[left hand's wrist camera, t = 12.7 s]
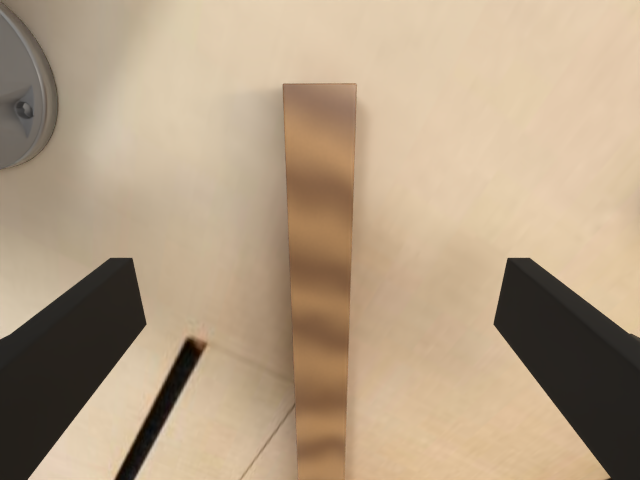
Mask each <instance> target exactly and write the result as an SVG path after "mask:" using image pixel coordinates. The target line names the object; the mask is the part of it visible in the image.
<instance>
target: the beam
mask: <svg viewBox="0 0 640 480" xmlns="http://www.w3.org/2000/svg"><path fill="white" fill-rule="evenodd" d="M356 91H357V84H356V83H345V84H283V105H284V130H285V156H286V181H287V207H288V233H289V258H290V284H291V309H292V335H293V361H294V386H295V412H296V437H297V463H298V480H344V470H345V438H346V407H347V375H348V344H349V312H350V280H351V249H352V217H353V186H354V154H355V123H356Z"/></svg>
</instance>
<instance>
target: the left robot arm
mask: <svg viewBox="0 0 640 480" xmlns="http://www.w3.org/2000/svg"><path fill="white" fill-rule="evenodd" d="M57 108H58V103H57V92H56V86H55V82H54V78H53V74H52V71H51V68H50V66H49V63H48V61H47V59H46V57H45V55H44V53H43V51H42V49H41V47H40V46H39V44H38V42H37V41H36V39H35V38H34V36H33V35H32V34H31V32H30V31H29V30H28V28H27V27H26V26H25V25H24V23H23V22H22V21H21V20H20V19H19V18H18V17H17V16H16V15H15V14H14V13H13V12H12V11H11V10H10V9H9V8H7V7H6V6H5V5H4V4H2V3H1V2H0V169H4V168H8V167H13V166H16V165H19V164H22V163H24V162H26V161H28V160H30V159H32V158H33V157H34V156H36V155H37V154H38V153H39V152H40V151H41V150H42V149H43V148H44V147H45V145H46V144H47V143H48V141H49V139H50V137H51V135H52V133H53V130H54V127H55V123H56V118H57ZM145 326H146V319H145V315H144V310H143V305H142V301H141V296H140V291H139V287H138V282H137V277H136V273H135V268H134V263H133V259H132V258H110V259H108V260H107V261H106V262H104V263H103V264H102V265H101V266H99V267H98V268H97V269H95V270H94V271H93V272H91V273H90V274H89V275H87V276H86V277H85V278H83V279H82V280H81V281H80V282H78V283H77V284H76V285H74V286H73V287H72V288H70V289H69V290H68V291H66V292H65V293H64V294H63V295H61V296H60V297H59V298H57V299H56V300H55V301H53V302H52V303H51V304H49V305H48V306H47V307H46V308H44V309H43V310H42V311H40V312H39V313H38V314H36V315H35V316H34V317H32V318H31V319H30V320H28V321H27V322H26V323H25V324H23V325H22V326H21V327H19V328H18V329H17V330H15V331H14V332H13V333H11V334H10V335H8V336H6V337H4V338H2V339H0V480H28V478H29V477H30V476H31V474H32V473H33V472H34V470H35V469H36V468H37V467H38V465H39V464H40V463H41V461H42V460H43V459H44V457H45V456H46V455H47V454H48V452H49V451H50V450H51V448H52V447H53V446H54V444H55V443H56V442H57V440H58V439H59V438H60V437H61V435H62V434H63V433H64V431H65V430H66V429H67V427H68V426H69V425H70V423H71V422H72V421H73V420H74V418H75V417H76V416H77V414H78V413H79V412H80V410H81V409H82V408H83V407H84V405H85V404H86V403H87V401H88V400H89V399H90V397H91V396H92V395H93V393H94V392H95V391H96V390H97V388H98V387H99V386H100V384H101V383H102V382H103V380H104V379H105V378H106V377H107V375H108V374H109V373H110V371H111V370H112V369H113V367H114V366H115V365H116V363H117V362H118V361H119V360H120V358H121V357H122V356H123V354H124V353H125V352H126V350H127V349H128V348H129V346H130V345H131V344H132V343H133V341H134V340H135V339H136V337H137V336H138V335H139V333H140V332H141V331H142V330H143V328H144V327H145ZM494 326H495V327H496V328H497V330H498V331H499V332H500V333H501V335H502V336H503V337H504V339H505V340H506V341H507V343H508V344H509V345H510V347H511V348H512V349H513V350H514V352H515V353H516V354H517V356H518V357H519V358H520V360H521V361H522V362H523V363H524V365H525V366H526V367H527V369H528V370H529V371H530V373H531V374H532V375H533V377H534V378H535V379H536V380H537V382H538V383H539V384H540V386H541V387H542V388H543V390H544V391H545V392H546V393H547V395H548V396H549V397H550V399H551V400H552V401H553V403H554V404H555V405H556V407H557V408H558V409H559V410H560V412H561V413H562V414H563V416H564V417H565V418H566V420H567V421H568V422H569V423H570V425H571V426H572V427H573V429H574V430H575V431H576V433H577V434H578V435H579V437H580V438H581V439H582V440H583V442H584V443H585V444H586V446H587V447H588V448H589V450H590V451H591V452H592V454H593V455H594V456H595V457H596V459H597V460H598V461H599V463H600V464H601V465H602V467H603V468H604V469H605V470H606V472H607V473H608V474H609V476H610V477H611V478H612V480H640V338H639V337H637V336H635V335H633V334H629V333H627V332H626V331H625V330H623V329H622V328H621V327H619V326H618V325H617V324H615V323H614V322H613V321H612V320H610V319H609V318H608V317H606V316H605V315H604V314H602V313H601V312H600V311H598V310H597V309H596V308H594V307H593V306H592V305H591V304H589V303H588V302H587V301H585V300H584V299H583V298H581V297H580V296H579V295H577V294H576V293H575V292H574V291H572V290H571V289H570V288H568V287H567V286H566V285H564V284H563V283H562V282H560V281H559V280H558V279H557V278H555V277H554V276H553V275H551V274H550V273H549V272H547V271H546V270H545V269H543V268H542V267H541V266H539V265H538V264H537V263H536V262H534V261H533V260H532V259H530V258H508V259H507V263H506V268H505V273H504V277H503V282H502V287H501V291H500V296H499V301H498V305H497V310H496V315H495V319H494Z"/></svg>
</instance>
